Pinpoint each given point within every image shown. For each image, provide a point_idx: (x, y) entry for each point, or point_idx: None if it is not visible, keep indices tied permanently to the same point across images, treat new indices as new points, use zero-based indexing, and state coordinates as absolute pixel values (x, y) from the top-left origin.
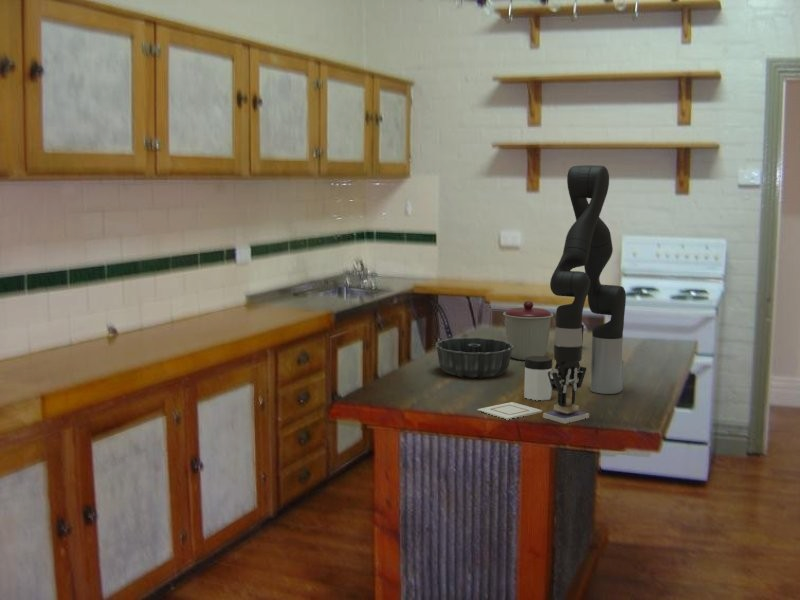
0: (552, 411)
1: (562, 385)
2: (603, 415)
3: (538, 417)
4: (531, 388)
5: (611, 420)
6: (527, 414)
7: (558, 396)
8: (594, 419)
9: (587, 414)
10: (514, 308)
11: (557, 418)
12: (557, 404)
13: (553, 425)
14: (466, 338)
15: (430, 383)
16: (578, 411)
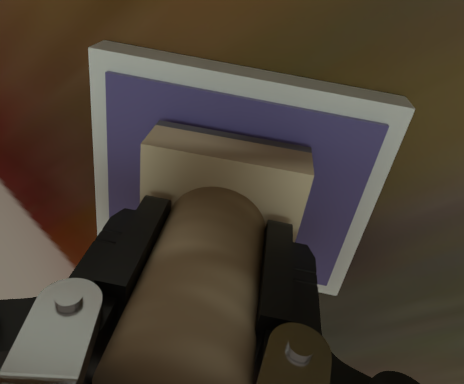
0: (182, 91)
1: (155, 356)
2: (451, 310)
3: (79, 5)
4: None
5: (360, 364)
6: None
7: (86, 260)
8: (322, 304)
9: (318, 290)
10: None
11: (98, 189)
12: (180, 161)
13: (28, 198)
14: None
15: None
16: (329, 238)
